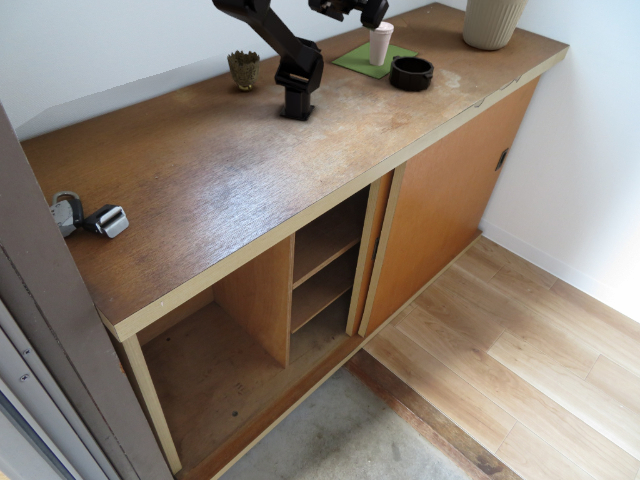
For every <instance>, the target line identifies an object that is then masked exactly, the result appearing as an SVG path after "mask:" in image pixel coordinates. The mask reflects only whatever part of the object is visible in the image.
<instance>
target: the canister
mask: <svg viewBox="0 0 640 480" xmlns="http://www.w3.org/2000/svg"><path fill="white" fill-rule="evenodd" d="M528 1H529V0H466V6H465V13H464V21H463V26H462V37H463V40H464V42H465V43H466V44H467V45H469V46H471V47H473V48H476V49H479V50H486V51H496V50H501V49H502V48H504V47H505V46H507V44H508V43H509V41H510V40H511V38H512V36H513V34H514V32H515V30H516V27H517V26H518V24H519V21H520V20H521V16H522V15H523V12H524V10H525V8H526V6H527V4H528Z"/></svg>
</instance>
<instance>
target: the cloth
mask: <svg viewBox="0 0 640 480" xmlns="http://www.w3.org/2000/svg"><path fill="white" fill-rule="evenodd" d="M398 55H399V56H400V57H402V56H413V57H417V56H418V55H419V52H416V51H413V50H410V49H406V48H404V47H400V46H397V45H394V44H391V43H389V44H388V48H387V52H386V55H385V59H384V63H383V65H381V66H375V65H372V64H370V41H367V42H365V43H364V44H362V45H360V46H359V47H356V48H355V49H353V50H351V51H349V52H347V53H346V54H343V55H342V56H340V57H338V58H336V59H335V60H334V59H333V61H331V64H333V65H336V66H338V67H342V68H345V69H347V70H349V71H354V72H356V73H359V74H362V75H365V76H368V77H371V78H374V79H377V80H381V79H383V78H385V76H387V75H389V73H390V67H391V62H392V61H393V56H398Z"/></svg>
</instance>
